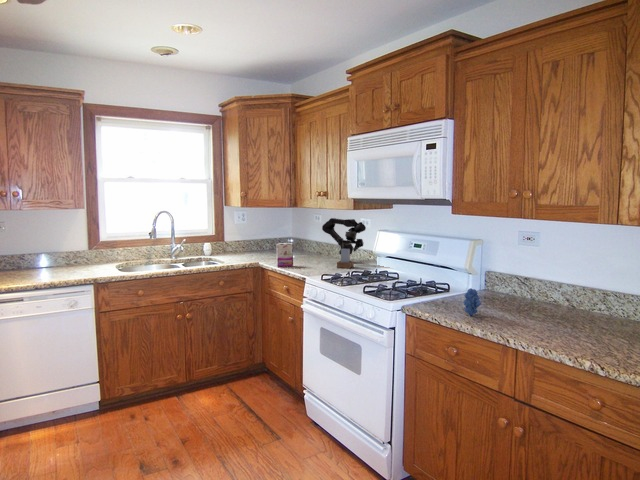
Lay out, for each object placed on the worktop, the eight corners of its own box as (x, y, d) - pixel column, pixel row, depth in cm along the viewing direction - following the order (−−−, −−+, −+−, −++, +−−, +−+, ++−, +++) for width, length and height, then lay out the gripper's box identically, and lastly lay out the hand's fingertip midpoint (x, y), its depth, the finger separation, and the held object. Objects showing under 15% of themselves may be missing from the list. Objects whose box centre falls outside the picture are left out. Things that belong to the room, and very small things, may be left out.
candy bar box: (291, 265, 318) (291, 242, 317) (293, 266, 314) (293, 243, 312) (276, 266, 315) (276, 243, 314) (277, 267, 311) (277, 243, 309)
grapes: (474, 320, 183) (475, 291, 182) (458, 316, 188) (460, 289, 187) (486, 315, 191) (488, 287, 190) (471, 312, 196) (473, 285, 195)
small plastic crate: (342, 265, 316) (343, 248, 314) (349, 265, 314) (349, 248, 313) (340, 266, 311) (341, 249, 310) (347, 266, 309) (347, 249, 308)
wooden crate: (340, 266, 318) (340, 260, 318) (353, 266, 315) (353, 261, 315) (336, 268, 310) (336, 262, 309) (349, 268, 306) (349, 263, 306)
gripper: (337, 227, 324) (332, 243, 315) (362, 227, 317) (358, 244, 308) (341, 236, 332) (336, 253, 323) (365, 237, 325) (361, 254, 316)
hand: (347, 251), depth 317 cm, fingers open, 9 cm apart
